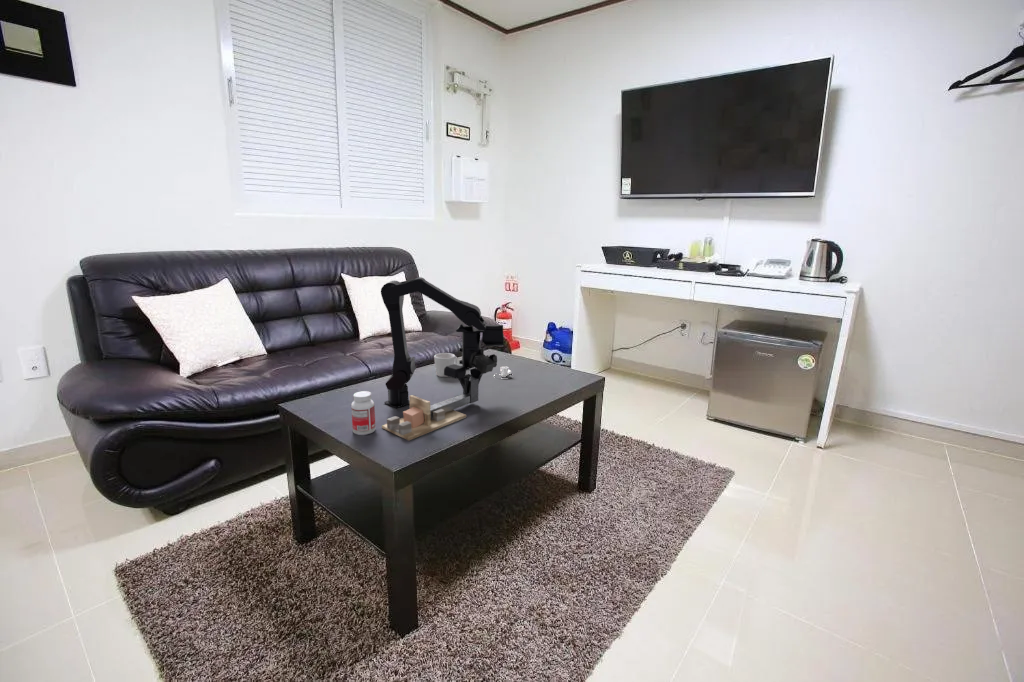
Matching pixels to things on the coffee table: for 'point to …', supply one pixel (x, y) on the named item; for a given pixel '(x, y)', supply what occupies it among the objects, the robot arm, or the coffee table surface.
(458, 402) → the grey metal bar
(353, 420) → the pill bottle
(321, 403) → the coffee table surface
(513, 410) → the coffee table surface
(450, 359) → the cup
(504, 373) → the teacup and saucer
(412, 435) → the rail
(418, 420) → the block
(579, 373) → the coffee table surface
